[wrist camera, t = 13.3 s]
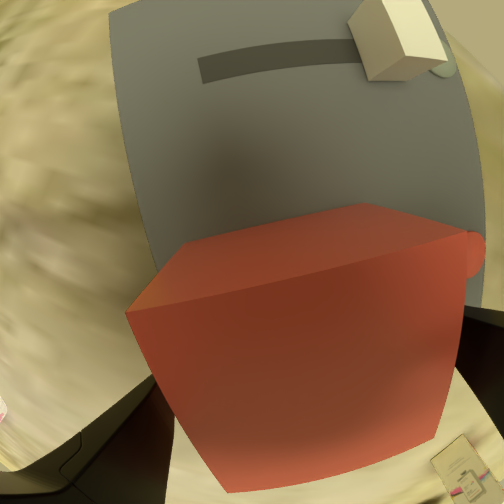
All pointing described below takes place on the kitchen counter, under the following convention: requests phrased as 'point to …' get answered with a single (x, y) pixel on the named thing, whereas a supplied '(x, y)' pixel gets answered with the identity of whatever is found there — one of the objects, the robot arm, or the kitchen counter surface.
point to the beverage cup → (2, 409)
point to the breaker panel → (284, 123)
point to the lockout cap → (307, 341)
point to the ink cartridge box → (467, 475)
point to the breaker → (395, 39)
